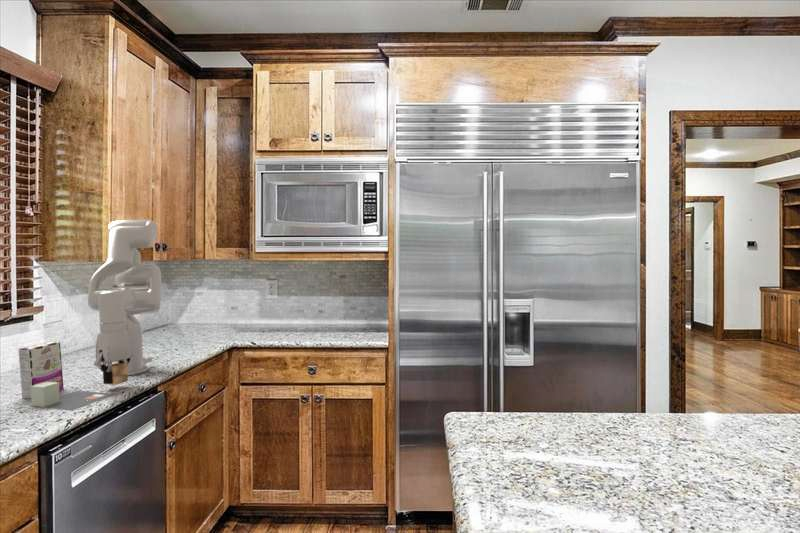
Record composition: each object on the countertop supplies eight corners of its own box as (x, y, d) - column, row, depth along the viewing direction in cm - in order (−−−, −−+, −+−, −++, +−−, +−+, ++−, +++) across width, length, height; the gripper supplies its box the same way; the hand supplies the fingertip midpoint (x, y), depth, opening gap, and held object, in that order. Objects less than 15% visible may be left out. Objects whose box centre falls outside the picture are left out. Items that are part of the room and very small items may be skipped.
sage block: (48, 400, 154) (46, 381, 153) (59, 401, 152) (58, 382, 152) (31, 405, 149) (30, 386, 148) (44, 406, 147) (42, 387, 147)
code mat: (77, 391, 164) (77, 390, 164) (117, 394, 159) (117, 394, 159) (29, 406, 148) (29, 405, 148) (71, 411, 143) (71, 410, 143)
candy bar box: (51, 388, 168) (49, 341, 167) (64, 389, 167) (61, 341, 166) (20, 398, 157) (17, 348, 156) (33, 399, 156) (30, 348, 155)
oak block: (116, 380, 168) (115, 362, 168) (127, 380, 167) (126, 363, 166) (103, 384, 163) (102, 366, 163) (115, 384, 162) (114, 366, 162)
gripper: (125, 323, 173) (127, 374, 174) (81, 331, 157) (84, 387, 158) (142, 323, 171) (144, 375, 172) (99, 331, 155) (102, 388, 156)
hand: (115, 380), depth 165 cm, fingers closed on oak block, 5 cm apart
